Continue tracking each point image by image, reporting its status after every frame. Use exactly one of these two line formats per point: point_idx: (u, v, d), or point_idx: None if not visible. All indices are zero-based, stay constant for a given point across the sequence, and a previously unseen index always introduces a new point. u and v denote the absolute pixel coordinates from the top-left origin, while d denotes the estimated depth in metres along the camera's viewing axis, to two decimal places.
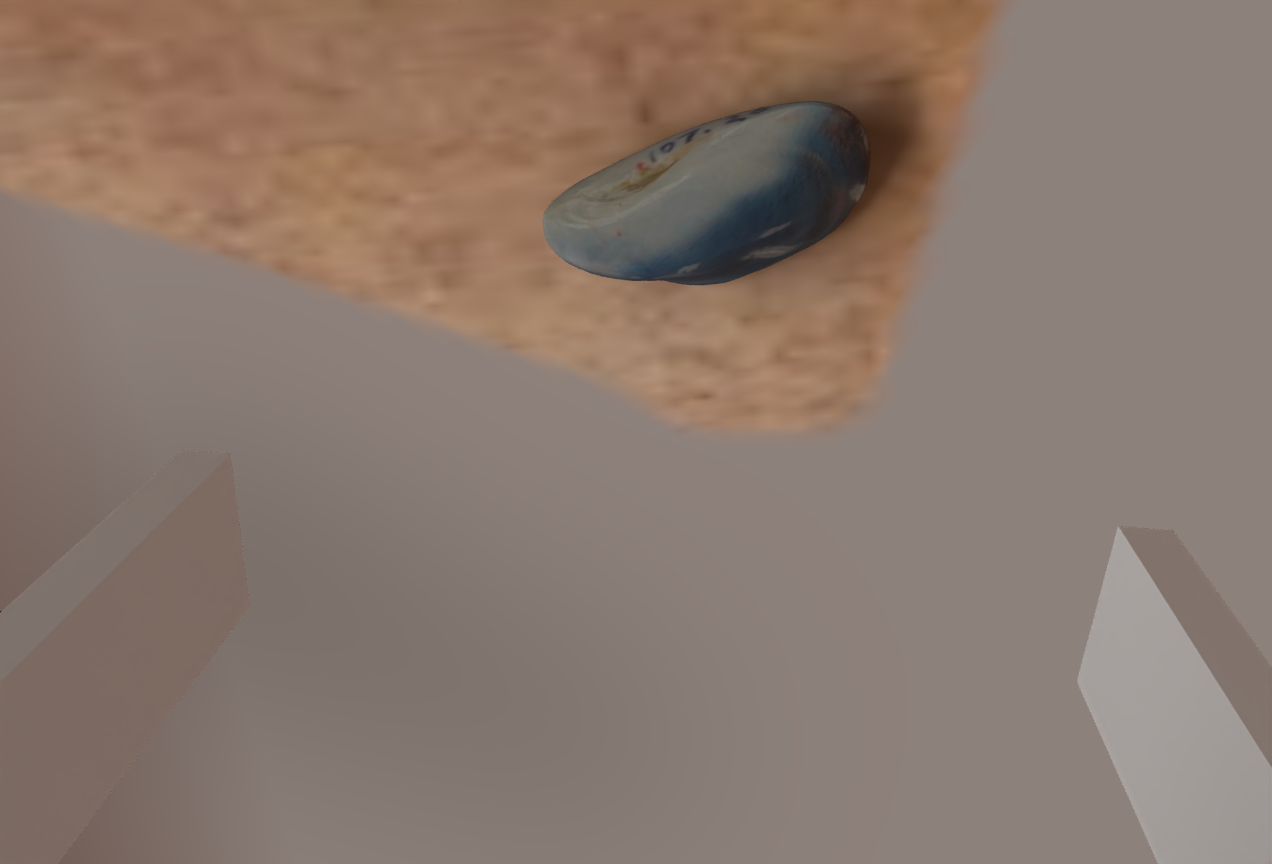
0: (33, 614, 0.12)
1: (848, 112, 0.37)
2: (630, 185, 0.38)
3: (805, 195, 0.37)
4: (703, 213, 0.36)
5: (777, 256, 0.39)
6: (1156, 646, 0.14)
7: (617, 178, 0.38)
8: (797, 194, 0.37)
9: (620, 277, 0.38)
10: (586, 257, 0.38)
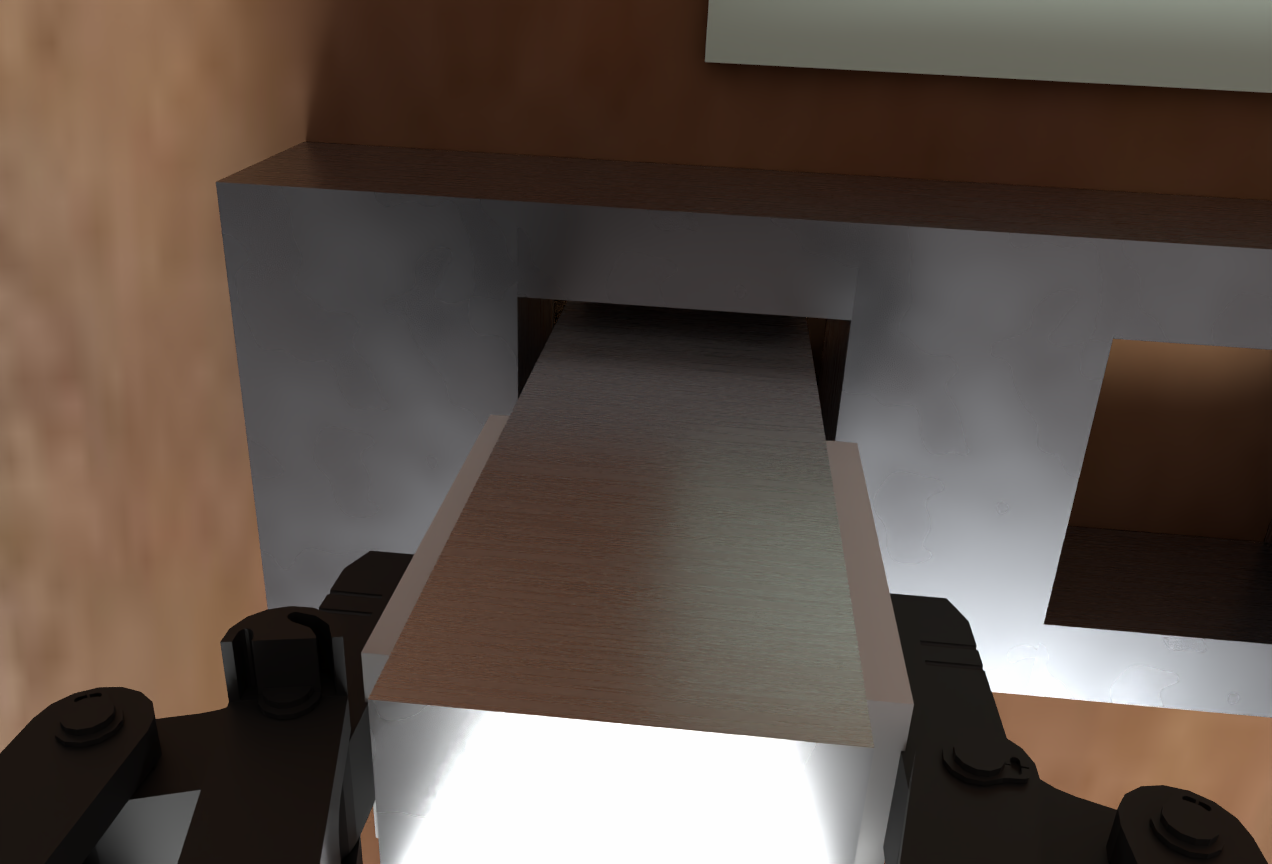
0: None
1: None
2: None
3: None
4: None
5: None
6: None
7: None
8: None
9: None
10: None
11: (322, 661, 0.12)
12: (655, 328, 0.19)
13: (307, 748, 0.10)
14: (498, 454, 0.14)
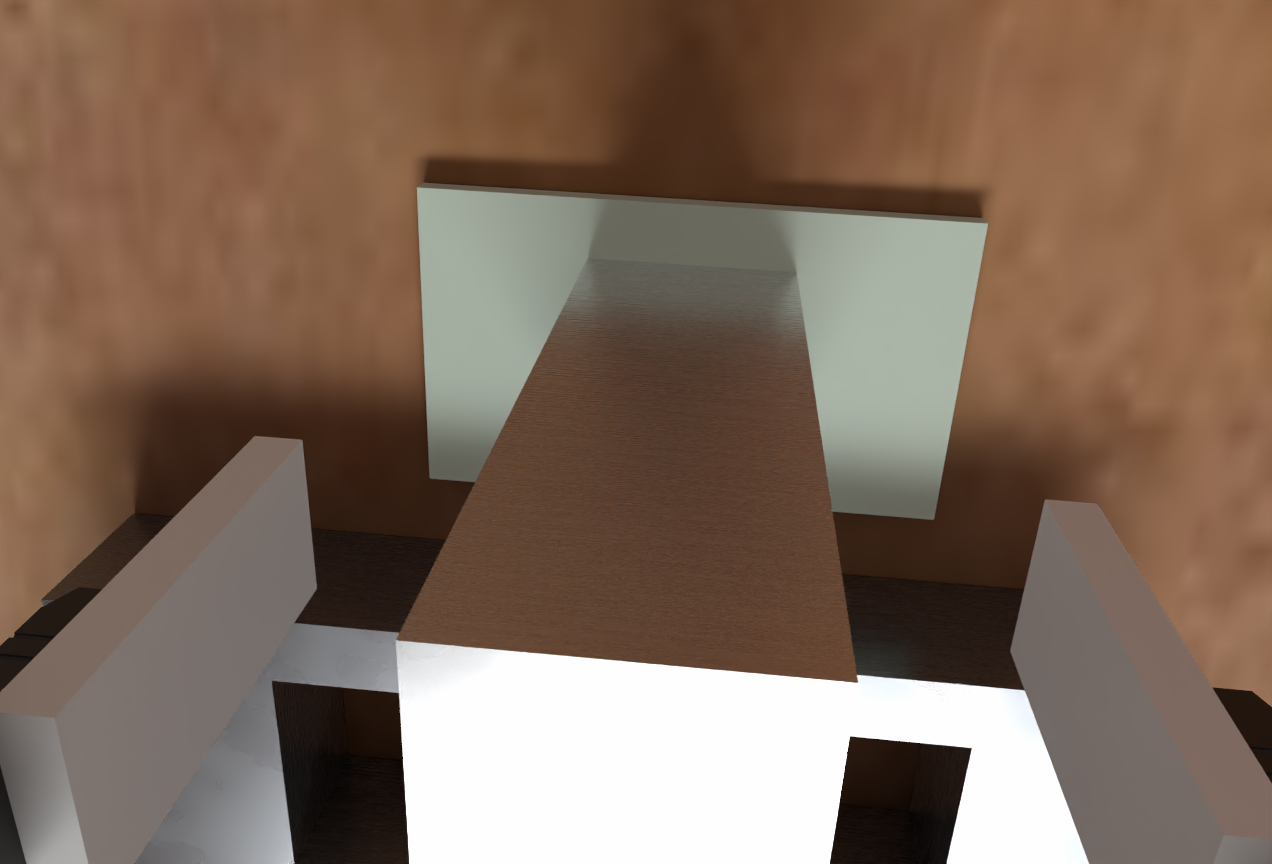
0: (135, 589, 0.13)
1: None
2: None
3: None
4: None
5: None
6: (1073, 612, 0.14)
7: None
8: None
9: None
10: None
11: None
12: (657, 313, 0.20)
13: None
14: (510, 427, 0.15)
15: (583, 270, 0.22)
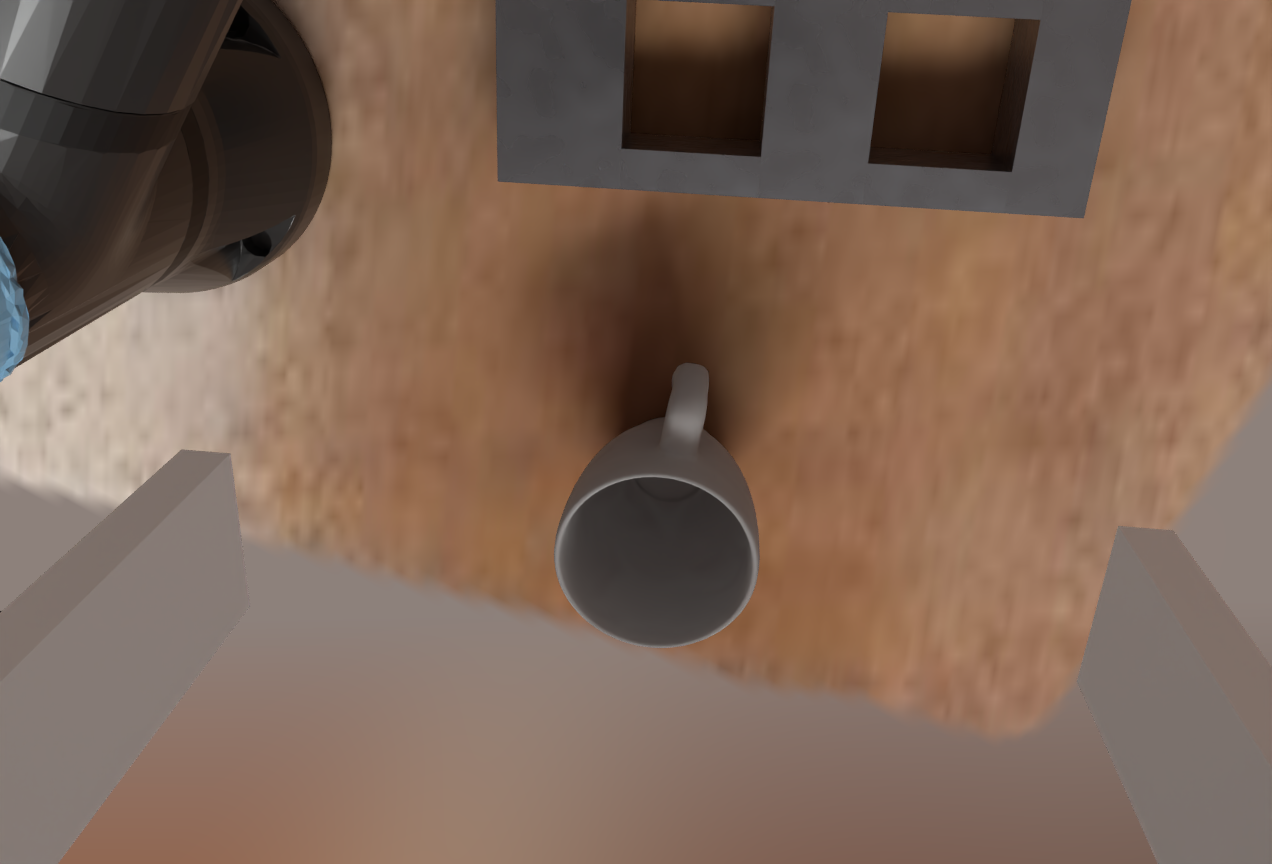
0: (33, 614, 0.12)
1: None
2: None
3: None
4: None
5: None
6: (1156, 647, 0.14)
7: None
8: None
9: None
10: None
11: None
12: None
13: None
14: None
15: None
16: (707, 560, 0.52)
